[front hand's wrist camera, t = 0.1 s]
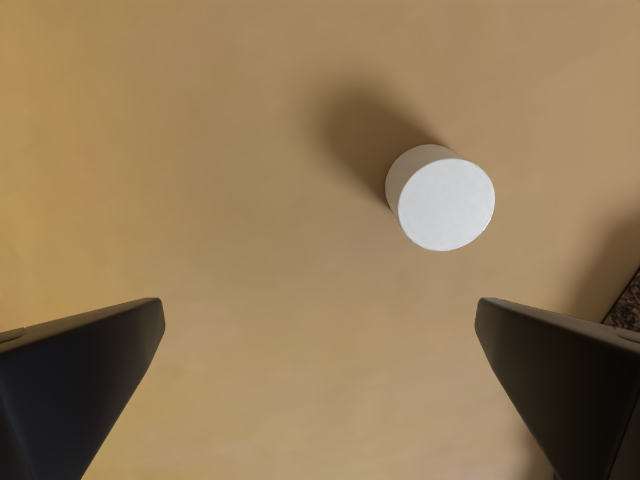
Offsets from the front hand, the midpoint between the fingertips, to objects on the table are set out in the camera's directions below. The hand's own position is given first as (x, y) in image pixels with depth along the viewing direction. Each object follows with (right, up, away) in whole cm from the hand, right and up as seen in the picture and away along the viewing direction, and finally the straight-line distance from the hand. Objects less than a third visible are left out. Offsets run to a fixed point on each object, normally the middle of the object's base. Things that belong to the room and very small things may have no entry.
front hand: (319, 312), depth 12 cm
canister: (+6, +5, +14) cm, 16 cm away
